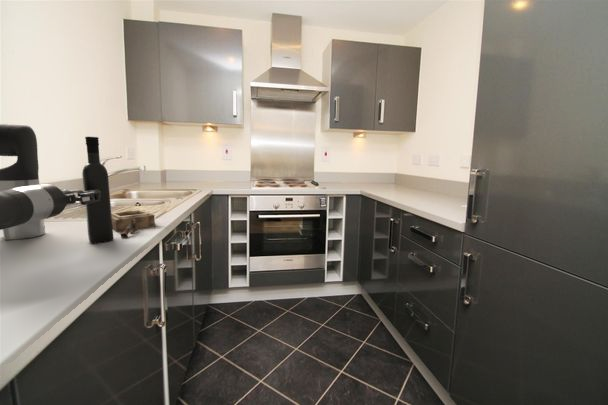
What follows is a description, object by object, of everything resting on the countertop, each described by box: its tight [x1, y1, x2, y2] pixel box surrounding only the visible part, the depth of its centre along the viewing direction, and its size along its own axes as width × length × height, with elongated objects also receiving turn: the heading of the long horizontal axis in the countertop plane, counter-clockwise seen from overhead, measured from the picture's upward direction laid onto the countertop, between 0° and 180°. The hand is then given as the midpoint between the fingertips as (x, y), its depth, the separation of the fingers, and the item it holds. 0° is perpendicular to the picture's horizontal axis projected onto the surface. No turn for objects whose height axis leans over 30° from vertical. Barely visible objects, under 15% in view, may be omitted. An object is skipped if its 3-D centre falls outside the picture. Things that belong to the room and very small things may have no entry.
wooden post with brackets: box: [119, 219, 138, 239], centre depth 93 cm, size 2×8×4 cm, turn 5°
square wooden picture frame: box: [111, 209, 156, 233], centre depth 104 cm, size 12×12×5 cm
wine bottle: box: [81, 136, 114, 245], centre depth 84 cm, size 6×6×30 cm
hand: (81, 193), depth 77 cm, fingers open, 8 cm apart
